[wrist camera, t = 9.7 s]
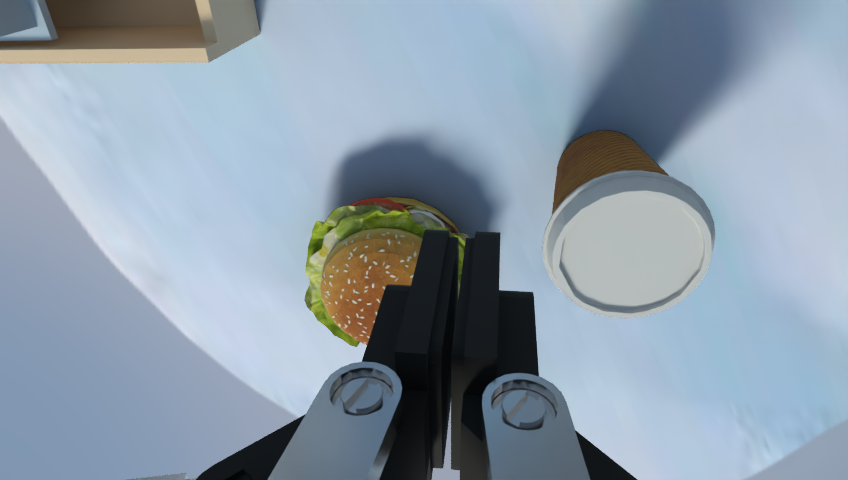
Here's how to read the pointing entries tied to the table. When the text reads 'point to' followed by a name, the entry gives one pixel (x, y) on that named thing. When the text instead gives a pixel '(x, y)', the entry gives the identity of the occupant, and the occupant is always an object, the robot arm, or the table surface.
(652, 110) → the table surface
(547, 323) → the table surface
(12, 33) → the lid
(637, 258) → the disposable coffee cup
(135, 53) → the mailer box
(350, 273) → the food
